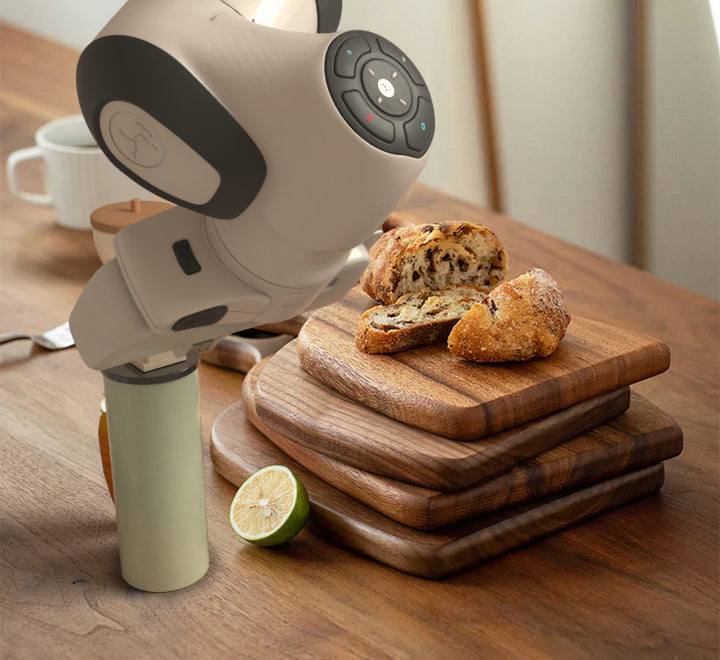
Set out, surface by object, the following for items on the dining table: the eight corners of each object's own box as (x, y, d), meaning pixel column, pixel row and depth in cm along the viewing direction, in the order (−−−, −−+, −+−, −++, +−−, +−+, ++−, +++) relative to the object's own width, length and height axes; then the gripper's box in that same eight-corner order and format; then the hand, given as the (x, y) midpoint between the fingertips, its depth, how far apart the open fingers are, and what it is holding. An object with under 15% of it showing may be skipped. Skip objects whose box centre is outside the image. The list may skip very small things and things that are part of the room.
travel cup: (147, 606, 84) (128, 386, 77) (102, 561, 90) (81, 352, 82) (229, 570, 89) (219, 359, 81) (181, 530, 94) (168, 328, 87)
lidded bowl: (166, 292, 148) (161, 214, 144) (80, 285, 150) (73, 208, 146) (197, 262, 159) (193, 190, 155) (117, 256, 162) (111, 185, 157)
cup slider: (144, 372, 79) (141, 342, 78) (123, 358, 81) (120, 329, 80) (186, 360, 81) (184, 330, 80) (165, 346, 83) (163, 317, 82)
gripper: (372, 177, 72) (290, 275, 83) (91, 234, 60) (37, 340, 71) (415, 257, 71) (325, 346, 81) (135, 331, 59) (73, 425, 70)
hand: (189, 344), depth 76 cm, fingers closed
